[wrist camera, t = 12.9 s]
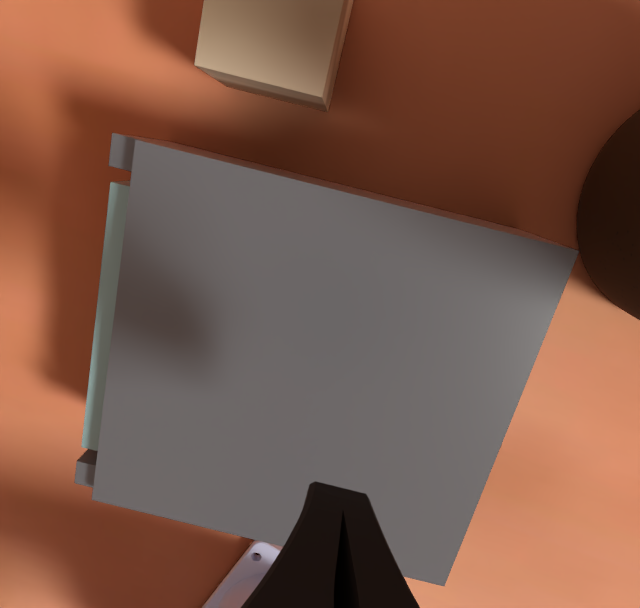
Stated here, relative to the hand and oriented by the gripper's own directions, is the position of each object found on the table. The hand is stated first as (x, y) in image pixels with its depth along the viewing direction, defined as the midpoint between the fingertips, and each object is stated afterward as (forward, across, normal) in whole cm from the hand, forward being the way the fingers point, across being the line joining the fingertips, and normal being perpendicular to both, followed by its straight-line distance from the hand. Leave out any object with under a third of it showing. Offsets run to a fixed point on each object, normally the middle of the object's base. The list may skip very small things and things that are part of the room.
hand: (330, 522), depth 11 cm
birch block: (+10, +5, -12) cm, 16 cm away
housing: (+10, +2, 0) cm, 11 cm away
